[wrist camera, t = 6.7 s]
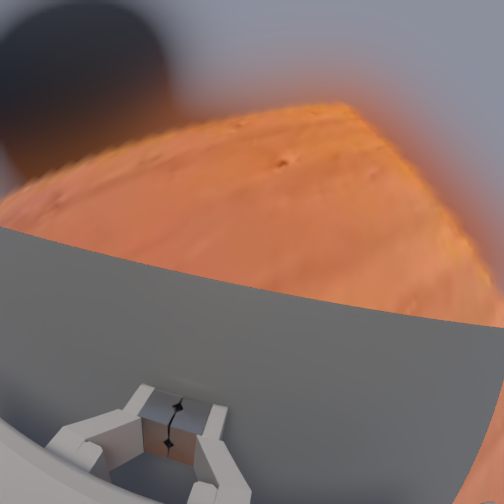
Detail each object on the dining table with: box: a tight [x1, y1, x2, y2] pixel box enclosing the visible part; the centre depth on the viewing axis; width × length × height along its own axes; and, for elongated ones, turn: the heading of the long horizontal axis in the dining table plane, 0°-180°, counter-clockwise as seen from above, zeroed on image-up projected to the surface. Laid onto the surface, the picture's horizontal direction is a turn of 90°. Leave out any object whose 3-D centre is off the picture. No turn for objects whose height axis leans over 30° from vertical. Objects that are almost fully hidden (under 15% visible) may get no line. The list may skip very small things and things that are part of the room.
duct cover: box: [0, 227, 504, 504], centre depth 10 cm, size 28×11×1 cm, turn 79°
